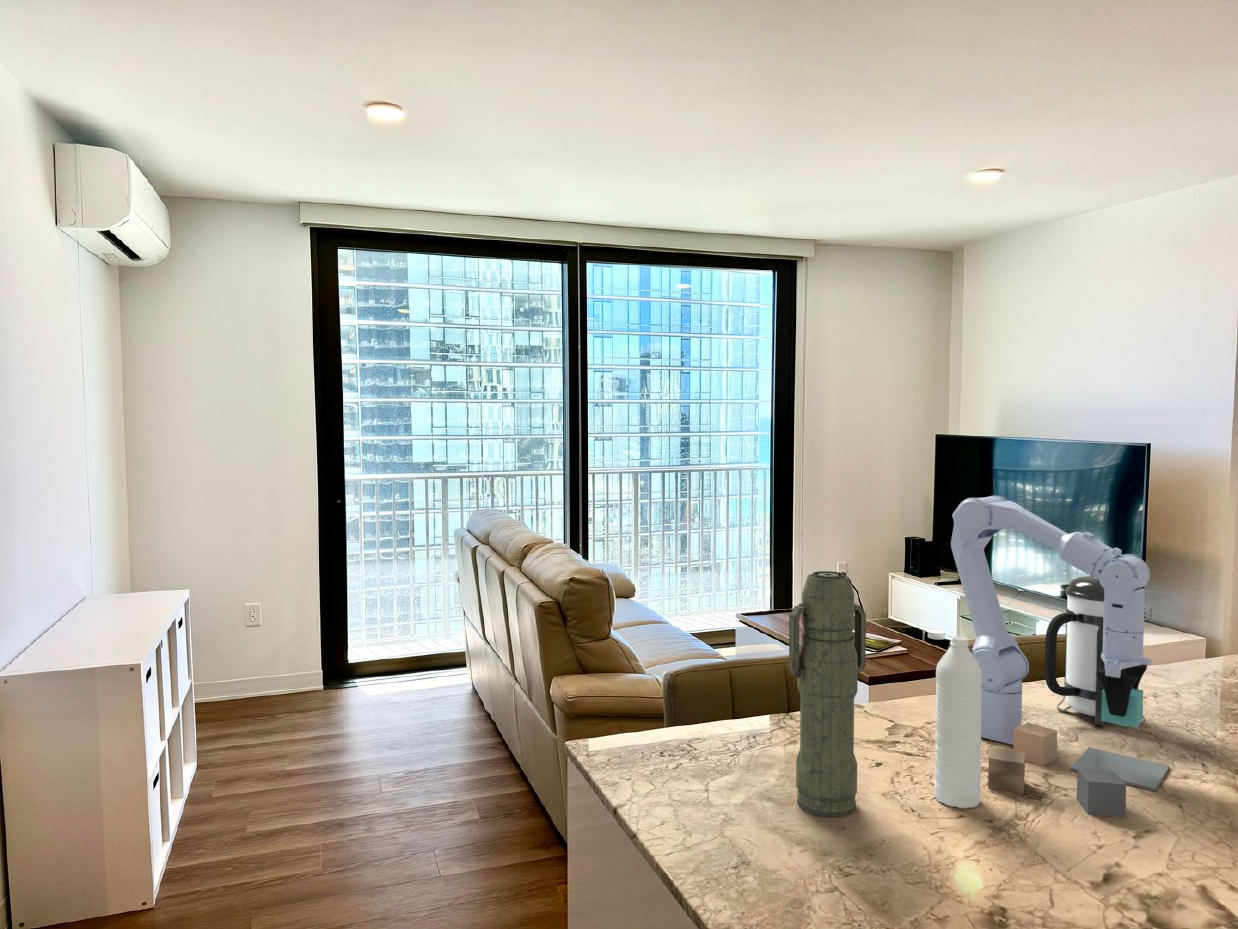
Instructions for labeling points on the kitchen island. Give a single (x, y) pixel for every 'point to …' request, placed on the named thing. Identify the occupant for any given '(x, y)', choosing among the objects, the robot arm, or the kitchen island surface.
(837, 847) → the kitchen island surface
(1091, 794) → the charcoal block
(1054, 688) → the coffee press
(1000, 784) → the walnut block
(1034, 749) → the terracotta block
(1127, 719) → the teal block
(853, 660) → the thermos
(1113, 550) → the robot arm
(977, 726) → the water bottle
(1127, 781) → the slate coaster
